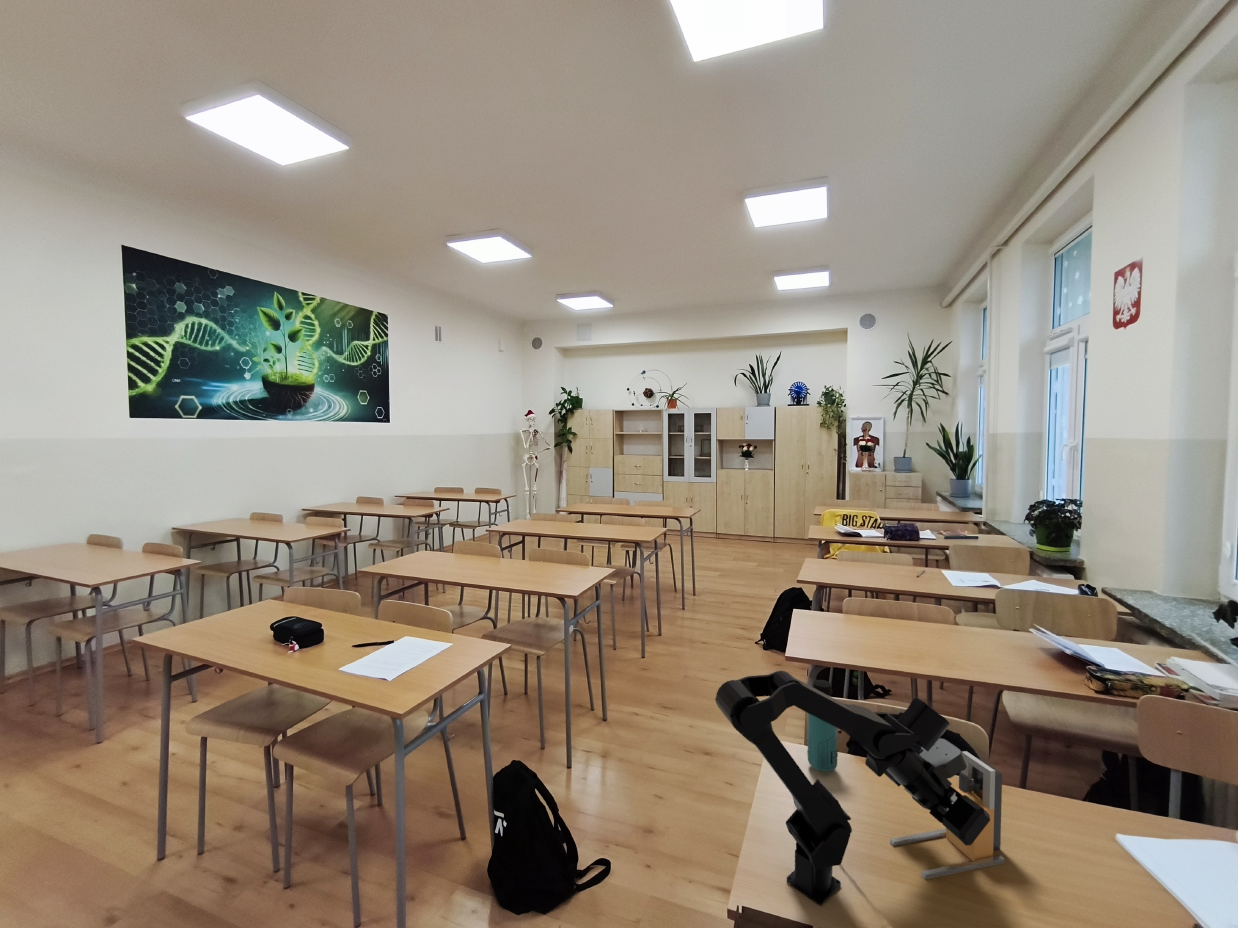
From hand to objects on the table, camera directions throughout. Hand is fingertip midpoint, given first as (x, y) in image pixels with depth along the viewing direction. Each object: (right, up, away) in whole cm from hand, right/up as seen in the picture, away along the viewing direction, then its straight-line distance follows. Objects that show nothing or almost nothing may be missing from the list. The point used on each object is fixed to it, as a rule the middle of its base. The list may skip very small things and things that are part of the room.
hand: (959, 819), depth 97 cm
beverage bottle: (-15, -6, +26) cm, 30 cm away
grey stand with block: (-2, -7, 0) cm, 7 cm away
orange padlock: (+2, -6, +1) cm, 6 cm away
